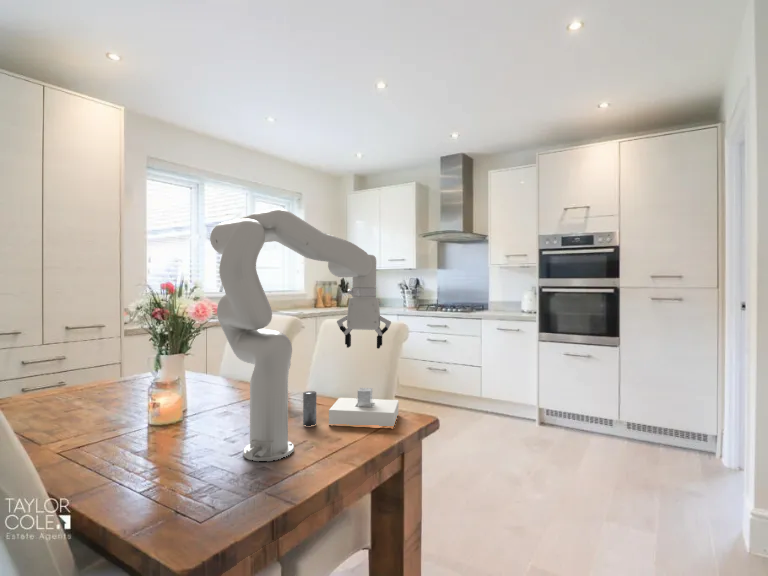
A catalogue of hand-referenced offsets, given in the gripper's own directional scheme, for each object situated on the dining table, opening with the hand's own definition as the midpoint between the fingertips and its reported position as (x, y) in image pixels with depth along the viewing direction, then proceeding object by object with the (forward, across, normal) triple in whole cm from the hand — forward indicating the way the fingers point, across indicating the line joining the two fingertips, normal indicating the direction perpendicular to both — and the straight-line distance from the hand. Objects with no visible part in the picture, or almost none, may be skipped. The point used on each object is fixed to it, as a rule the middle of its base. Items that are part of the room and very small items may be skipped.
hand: (363, 347), depth 137 cm
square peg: (+23, +1, 0) cm, 23 cm away
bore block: (+23, +1, 0) cm, 23 cm away
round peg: (+23, -15, -7) cm, 29 cm away
